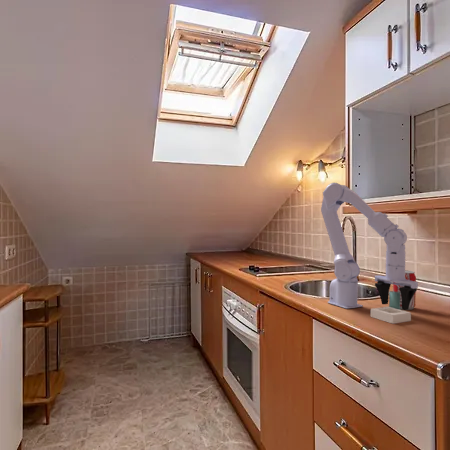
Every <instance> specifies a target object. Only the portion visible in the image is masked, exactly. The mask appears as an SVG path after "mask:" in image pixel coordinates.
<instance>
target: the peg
mask: <svg viewBox="0 0 450 450" xmlns="http://www.w3.org/2000/svg"><path fill="white" fill-rule="evenodd" d="M388 307H392V308H395V309H399V310H401V309H400V292H395V291H393V290H389V295H388Z"/></svg>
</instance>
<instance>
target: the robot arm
mask: <svg viewBox="0 0 450 450" xmlns="http://www.w3.org/2000/svg"><path fill="white" fill-rule="evenodd" d="M344 203H347V204H351V206H352V207H355V209H356V210H357V211H358V212H359V213H361V214H362V215H363V216H364V217H365V218H367V223H368V225H369V226H370V228H372V229H373V230H374V231H375V232H376V233H377V234H378V235H379V236H381V238H383V241H384V243H385V244H386V250H385V275H374V282H376V283H374V286H375V288H376V290H377V293H378V294H379V297H380V300H381V304H382V305H389V292H390V288H391V285H393V284H394V285H400V286H404V287H400V288H399V289H400V292H401V298H402V309H401V310H403V311H408V310H407V309H408V308H409V305H410V302H411V299H412V297H413V295H414V294H415V292H416V293H417V291H418V289H419V287H418V286H419V282H418V281H416V282H415V281H410V280H407V279H405V270H406V242H407V240H408V235H407V233H406V231H405V230H404V229H402V228H399V225H398V224H395V223H394V222H393V221H391V219H389V218H388V217H389V215H388V214H387V213H383V212H381V211H377V212H376V211H375V210H374V209H373V208H372V207H371V206H370V205H369V204H368V203H367V202H365V200H363V198H362V197H360V195H359V194H357V193H356V192H355V191H354V190H352V189H350V188H349V187H348V186H346V185H345V184H344V185H343V184H340V183H337V182H331V183H329V184H328V185H327V186H326V187H325V189H324V190H323V192H322V202H321V206H320V212H321V215H322V218H323V222H324V225H325V227H326V231H327V235H328V238H329V240H330V244H331V247H332V250H333V253H334V258H333V264H334V270H333V272H334V276H335V277H336V278H334V279H332V280H331V282H330V284H329V300H328V301H327V304H331V305H333V306H338V307H340V308H343V309H355V308H363V306H364V305H363V304H359V303H358V291H359V286H358V285H359V280H358V278H357V277H358V276H359V275H360V272H361V270H360V269H361V268H360V265H359V264H358V263H357V262H356V260H355V258H354V256H353V255H352V253H351V252H350V250H349V246H348V243H347V240H346V237H345V233H344V230H343V227H342V224H341V221H340V217H339V215H338V210H339V209H340V208H341V206H342V205H343V204H344ZM393 282H395V283H393Z"/></svg>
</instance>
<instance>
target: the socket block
mask: <svg viewBox="0 0 450 450" xmlns="http://www.w3.org/2000/svg"><path fill="white" fill-rule="evenodd" d="M370 317H371V318H373V319H377V320H380V321H384V322H387V323H389V324H400V323H406V322H411V321H412V312H410V311H408V310H403V309H400V310H399V309H395V308H392V307H389V306H383V307H381V306H380V307H375V308H370Z"/></svg>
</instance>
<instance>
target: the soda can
mask: <svg viewBox="0 0 450 450" xmlns="http://www.w3.org/2000/svg"><path fill="white" fill-rule="evenodd" d="M405 279H407V280H410V281H415V282H417V276H416V274H415V271H413V270H406V269H405ZM393 283H395V282H393ZM400 287H404V286H400V285H394V284H392V291H395V292H400V289H399V288H400ZM416 293H417V291H416V292H415V294H414V295H413V297H412V299H411V302H410V305H409V308H408V309H407V310H406V311H412V310H414V308H416V295H417V294H416ZM400 310H403V309H402V298H401V292H400Z"/></svg>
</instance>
